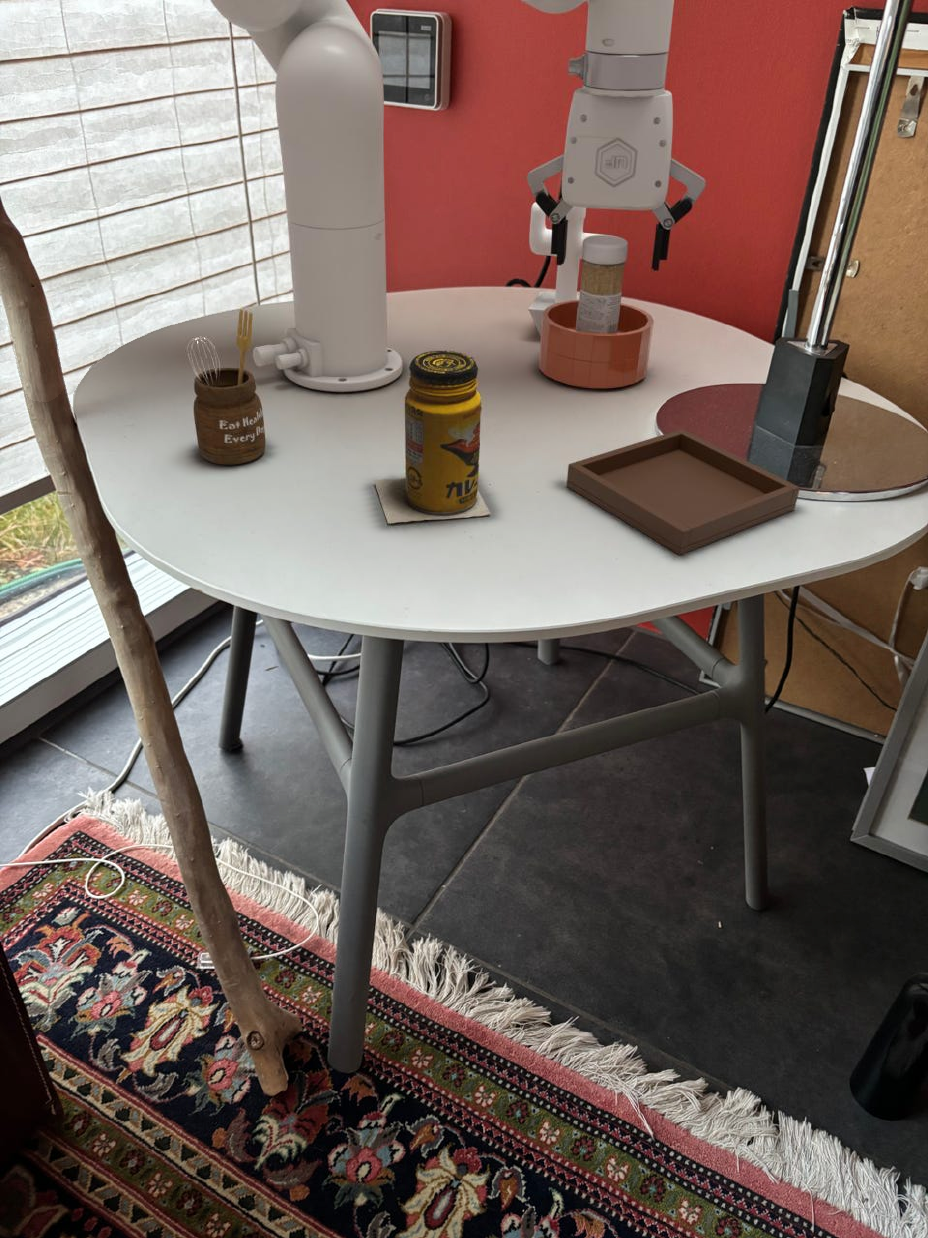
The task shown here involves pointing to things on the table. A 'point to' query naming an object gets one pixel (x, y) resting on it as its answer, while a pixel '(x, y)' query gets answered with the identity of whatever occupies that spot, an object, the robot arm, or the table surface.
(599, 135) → the robot arm
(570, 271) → the figurine
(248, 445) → the utensil holder
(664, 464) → the tray
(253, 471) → the table surface
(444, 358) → the condiment
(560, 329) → the bowl
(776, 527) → the table surface
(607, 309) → the sprinkles bottle
